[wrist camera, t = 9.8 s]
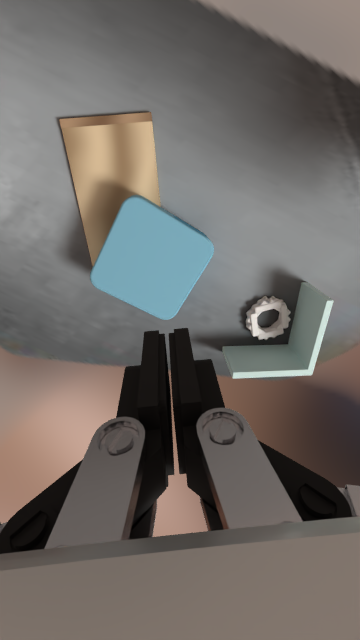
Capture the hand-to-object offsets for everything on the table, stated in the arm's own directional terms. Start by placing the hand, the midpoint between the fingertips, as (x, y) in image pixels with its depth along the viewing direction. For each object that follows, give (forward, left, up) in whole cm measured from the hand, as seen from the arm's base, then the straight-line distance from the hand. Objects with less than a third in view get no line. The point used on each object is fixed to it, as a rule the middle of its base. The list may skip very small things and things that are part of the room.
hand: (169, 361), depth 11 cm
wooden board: (+5, -4, -29) cm, 30 cm away
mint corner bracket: (-15, +15, -30) cm, 37 cm away
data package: (-2, -2, -27) cm, 27 cm away
